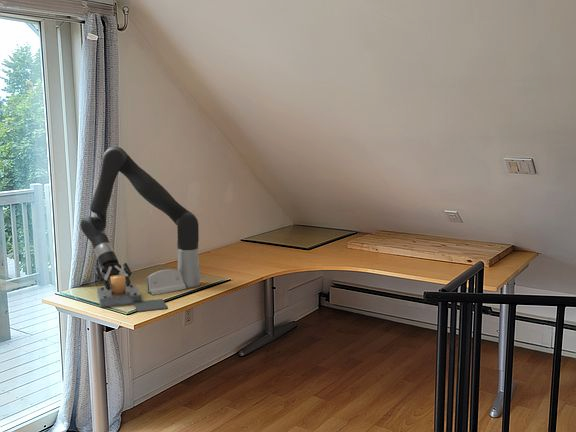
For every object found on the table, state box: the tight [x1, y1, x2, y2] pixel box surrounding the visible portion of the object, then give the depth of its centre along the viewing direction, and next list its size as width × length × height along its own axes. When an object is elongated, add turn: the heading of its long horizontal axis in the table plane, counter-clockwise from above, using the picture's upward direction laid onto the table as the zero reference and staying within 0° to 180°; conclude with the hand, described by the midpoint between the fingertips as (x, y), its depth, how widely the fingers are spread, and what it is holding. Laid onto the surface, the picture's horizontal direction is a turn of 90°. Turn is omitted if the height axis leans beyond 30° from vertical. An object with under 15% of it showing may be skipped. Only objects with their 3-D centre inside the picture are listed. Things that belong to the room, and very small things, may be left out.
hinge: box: [146, 268, 187, 296], centre depth 268 cm, size 17×5×10 cm, turn 126°
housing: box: [96, 283, 142, 308], centre depth 254 cm, size 16×16×4 cm
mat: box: [133, 298, 169, 313], centre depth 247 cm, size 12×12×1 cm
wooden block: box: [109, 275, 126, 294], centre depth 254 cm, size 6×6×10 cm
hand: (119, 287), depth 253 cm, fingers open, 8 cm apart
